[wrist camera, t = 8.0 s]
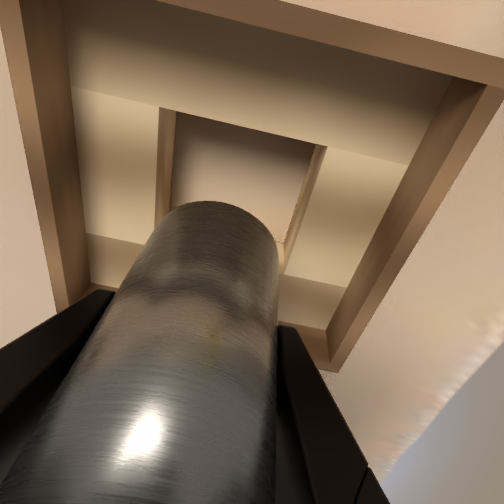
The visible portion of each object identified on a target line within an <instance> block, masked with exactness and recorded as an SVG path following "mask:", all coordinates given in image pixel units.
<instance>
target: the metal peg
mask: <svg viewBox="0 0 504 504" xmlns="http://www.w3.org/2000/svg"><path fill="white" fill-rule="evenodd" d="M278 279H279V256H278V250H277V246H276V243H275V241H274V238H273V237H272V235H271V233H270V232H269V230H268V229H267V228H266V227H265V226H264V224H263V223H261V222H260V221H259V220H258V219H257V218H256V217H254V216H253V215H252V214H250V213H248V212H247V211H245V210H243V209H241V208H239V207H236V206H234V205H230V204H227V203H223V202H216V201H197V202H192V203H187V204H184V205H181V206H179V207H177V208H175V209H173V210H171V211H170V212H169V213H167V214H166V215H165V216H164V217H163V218H162V219H161V220H160V221H159V222H158V224H157V225H156V227H155V228H154V230H153V232H152V233H151V235H150V237H149V238H148V240H147V242H146V243H145V245H144V247H143V248H142V250H141V252H140V253H139V255H138V257H137V258H136V260H135V262H134V263H133V265H132V267H131V268H130V270H129V272H128V273H127V275H126V277H125V278H124V280H123V282H122V283H121V285H120V287H119V288H118V290H117V292H116V293H115V295H114V297H113V298H112V300H111V302H110V303H109V305H108V307H107V308H106V310H105V312H104V313H103V315H102V317H101V318H100V320H99V322H98V323H97V325H96V327H95V328H94V330H93V332H92V333H91V335H90V337H89V338H88V340H87V342H86V343H85V345H84V347H83V348H82V350H81V352H80V353H79V355H78V357H77V358H76V360H75V362H74V363H73V365H72V367H71V368H70V370H69V372H68V373H67V375H66V377H65V378H64V380H63V382H62V383H61V385H60V387H59V388H58V390H57V392H56V393H55V395H54V397H53V398H52V400H51V402H50V403H49V405H48V407H47V408H46V410H45V412H44V413H43V415H42V417H41V418H40V420H39V422H38V423H37V425H36V427H35V428H34V430H33V432H32V433H31V435H30V437H29V438H28V440H27V442H26V443H25V445H24V447H23V448H22V450H21V452H20V453H19V455H18V457H17V458H16V460H15V462H14V463H13V465H12V467H11V468H10V470H9V472H8V473H7V475H6V477H5V478H4V480H3V482H2V483H1V485H0V504H275V488H276V418H277V348H278Z"/></svg>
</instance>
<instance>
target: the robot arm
mask: <svg viewBox="0 0 504 504" xmlns="http://www.w3.org/2000/svg"><path fill="white" fill-rule="evenodd" d="M115 293H116V292H115V291H113V290H108V289H103V288H99V289H96V290H95V291H93V292H91V293H90V294H88V295H86V296H85V297H83V298H82V299H80V300H78V301H77V302H75V303H74V304H72V305H70V306H69V307H67V308H65V309H64V310H62V311H61V312H59V313H57V314H56V315H54V316H53V317H51V318H49V319H48V320H46V321H45V322H43V323H41V324H40V325H38V326H36V327H35V328H33V329H32V330H30V331H28V332H27V333H25V334H24V335H22V336H20V337H19V338H17V339H15V340H14V341H12V342H11V343H9V344H7V345H6V346H4V347H3V348H1V349H0V485H1V483H2V482H3V480H4V478H5V477H6V475H7V473H8V472H9V470H10V468H11V467H12V465H13V463H14V462H15V460H16V458H17V457H18V455H19V453H20V452H21V450H22V448H23V447H24V445H25V443H26V442H27V440H28V438H29V437H30V435H31V433H32V432H33V430H34V428H35V427H36V425H37V423H38V422H39V420H40V418H41V417H42V415H43V413H44V412H45V410H46V408H47V407H48V405H49V403H50V402H51V400H52V398H53V397H54V395H55V393H56V392H57V390H58V388H59V387H60V385H61V383H62V382H63V380H64V378H65V377H66V375H67V373H68V372H69V370H70V368H71V367H72V365H73V363H74V362H75V360H76V358H77V357H78V355H79V353H80V352H81V350H82V348H83V347H84V345H85V343H86V342H87V340H88V338H89V337H90V335H91V333H92V332H93V330H94V328H95V327H96V325H97V323H98V322H99V320H100V318H101V317H102V315H103V313H104V312H105V310H106V308H107V307H108V305H109V303H110V302H111V300H112V298H113V297H114V295H115ZM275 504H390V503H389V501H388V499H387V497H386V495H385V494H384V492H383V490H382V488H381V487H380V485H379V483H378V481H377V479H376V477H375V475H374V473H373V471H372V470H371V468H370V467H368V462H367V460H366V459H365V457H364V455H363V453H362V451H361V449H360V447H359V446H358V444H357V442H356V440H355V438H354V436H353V434H352V432H351V431H350V429H349V427H348V425H347V423H346V421H345V419H344V417H343V416H342V414H341V412H340V410H339V408H338V406H337V404H336V402H335V401H334V399H333V397H332V395H331V393H330V391H329V389H328V387H327V386H326V384H325V382H324V380H323V378H322V376H321V374H320V373H319V371H318V369H317V367H316V365H315V363H314V361H313V359H312V358H311V356H310V354H309V352H308V350H307V348H306V346H305V344H304V343H303V341H302V339H301V337H300V335H299V333H298V331H297V330H296V328H295V327H293V326H288V325H283V324H280V325H279V326H278V348H277V418H276V488H275Z"/></svg>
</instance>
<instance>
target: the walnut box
mask: <svg viewBox="0 0 504 504" xmlns="http://www.w3.org/2000/svg"><path fill="white" fill-rule="evenodd" d="M0 27H1V32H2V37H3V42H4V47H5V52H6V57H7V62H8V67H9V72H10V77H11V82H12V88H13V93H14V98H15V103H16V108H17V113H18V118H19V123H20V128H21V133H22V138H23V143H24V148H25V153H26V159H27V164H28V169H29V174H30V179H31V184H32V189H33V194H34V199H35V204H36V209H37V214H38V219H39V225H40V230H41V235H42V240H43V245H44V250H45V255H46V260H47V265H48V270H49V275H50V280H51V285H52V291H53V296H54V301H55V306H56V311H57V313H59V312H61V311H62V310H64V309H65V308H67V307H69V306H70V305H72V304H74V303H75V302H77V301H78V300H80V299H82V298H83V297H85V296H86V295H88V294H90V293H91V292H93V291H95V290H96V289H99V288H103V289H108V290H113V291H115V292H117V290H118V288H119V287H120V285H121V283H122V282H123V280H124V278H125V277H126V275H127V273H128V272H129V270H130V268H131V267H132V265H133V263H134V262H135V260H136V258H137V257H138V255H139V253H140V252H141V250H142V248H143V247H144V245H145V243H146V242H147V240H148V238H149V237H150V235H151V233H152V232H153V230H154V228H155V227H156V225H157V224H158V222H159V221H160V220H161V219H162V218H163V217H164V216H165V215H166V214H167V213H169V210H170V195H171V181H172V167H173V152H174V138H175V124H176V111H179V112H183V113H187V114H192V115H196V116H200V117H204V118H209V119H213V120H217V121H221V122H226V123H230V124H234V125H238V126H243V127H247V128H251V129H255V130H260V131H264V132H268V133H272V134H277V135H281V136H285V137H289V138H293V139H298V140H302V141H306V142H310V143H315V144H316V145H315V148H314V151H313V154H312V158H311V161H310V164H309V167H308V170H307V173H306V176H305V179H304V182H303V186H302V189H301V192H300V195H299V198H298V201H297V204H296V207H295V210H294V214H293V217H292V220H291V223H290V226H289V229H288V232H287V235H286V238H285V242H284V244H282V243H278V242H275V243H276V246H277V250H278V256H279V279H278V326H279V325H280V324H283V325H288V326H293V327H295V328H296V330H297V331H298V333H299V335H300V337H301V339H302V341H303V343H304V344H305V346H306V348H307V350H308V352H309V354H310V356H311V358H312V359H313V361H314V363H315V365H316V367H317V369H320V370H325V371H330V372H335V373H338V372H339V370H340V369H341V367H342V365H343V364H344V362H345V360H346V359H347V357H348V356H349V354H350V352H351V351H352V349H353V347H354V346H355V344H356V342H357V341H358V339H359V337H360V336H361V334H362V332H363V331H364V329H365V327H366V326H367V324H368V323H369V321H370V319H371V318H372V316H373V314H374V313H375V311H376V309H377V308H378V306H379V304H380V303H381V301H382V299H383V298H384V296H385V295H386V293H387V291H388V290H389V288H390V286H391V285H392V283H393V281H394V280H395V278H396V276H397V275H398V273H399V271H400V270H401V268H402V267H403V265H404V263H405V262H406V260H407V258H408V257H409V255H410V253H411V252H412V250H413V248H414V247H415V245H416V243H417V242H418V240H419V239H420V237H421V235H422V234H423V232H424V230H425V229H426V227H427V225H428V224H429V222H430V220H431V219H432V217H433V215H434V214H435V212H436V211H437V209H438V207H439V206H440V204H441V202H442V201H443V199H444V197H445V196H446V194H447V192H448V191H449V189H450V187H451V186H452V184H453V183H454V181H455V179H456V178H457V176H458V174H459V173H460V171H461V169H462V168H463V166H464V164H465V163H466V161H467V159H468V158H469V156H470V155H471V153H472V151H473V150H474V148H475V146H476V145H477V143H478V141H479V140H480V138H481V136H482V135H483V133H484V131H485V130H486V128H487V127H488V125H489V123H490V122H491V120H492V118H493V117H494V115H495V113H496V112H497V110H498V108H499V107H500V105H501V103H502V102H503V100H504V59H503V58H499V57H495V56H491V55H487V54H484V53H480V52H476V51H472V50H468V49H464V48H460V47H457V46H453V45H449V44H445V43H441V42H437V41H433V40H430V39H426V38H422V37H418V36H414V35H410V34H407V33H403V32H399V31H395V30H391V29H387V28H383V27H380V26H376V25H372V24H368V23H364V22H360V21H356V20H353V19H349V18H345V17H341V16H337V15H333V14H330V13H326V12H322V11H318V10H314V9H310V8H306V7H303V6H299V5H295V4H291V3H287V2H283V1H279V0H0Z"/></svg>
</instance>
